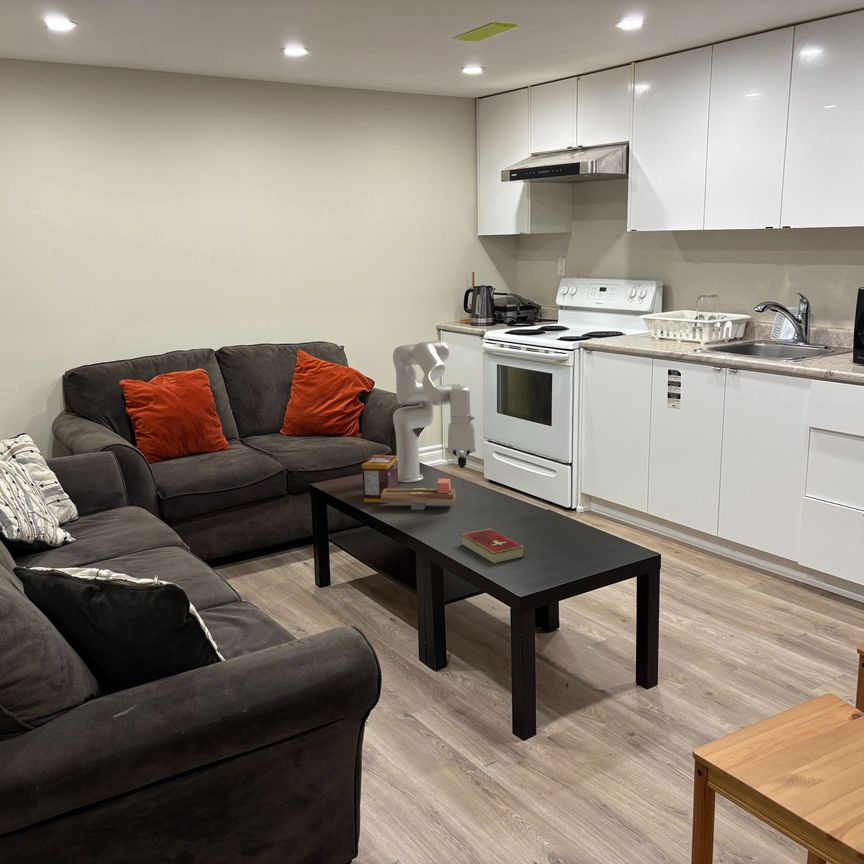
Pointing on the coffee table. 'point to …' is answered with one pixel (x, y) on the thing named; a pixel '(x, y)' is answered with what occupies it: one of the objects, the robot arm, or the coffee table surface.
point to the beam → (417, 496)
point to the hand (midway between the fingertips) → (462, 467)
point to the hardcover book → (492, 545)
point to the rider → (443, 486)
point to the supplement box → (379, 476)
